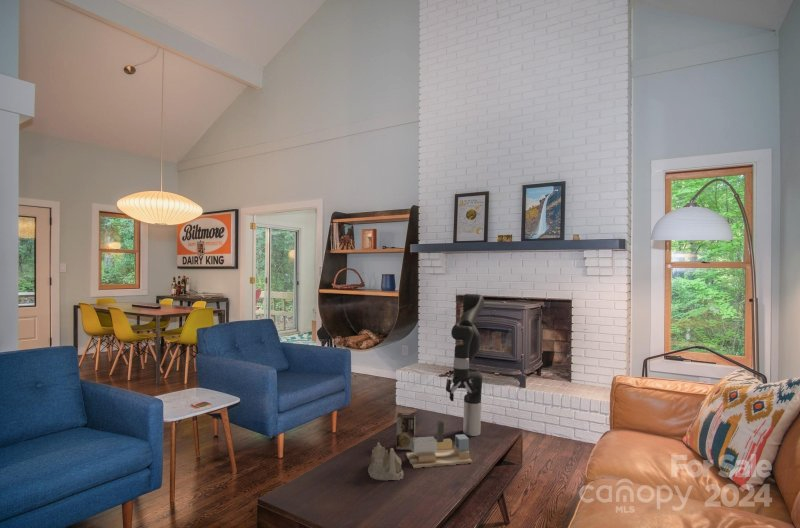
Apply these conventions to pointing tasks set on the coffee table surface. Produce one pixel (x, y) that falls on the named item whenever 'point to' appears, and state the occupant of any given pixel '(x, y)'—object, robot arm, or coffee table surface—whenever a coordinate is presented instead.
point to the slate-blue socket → (462, 446)
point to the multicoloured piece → (440, 441)
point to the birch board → (439, 459)
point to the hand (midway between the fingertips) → (460, 400)
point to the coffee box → (405, 430)
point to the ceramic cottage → (385, 464)
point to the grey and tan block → (424, 449)
